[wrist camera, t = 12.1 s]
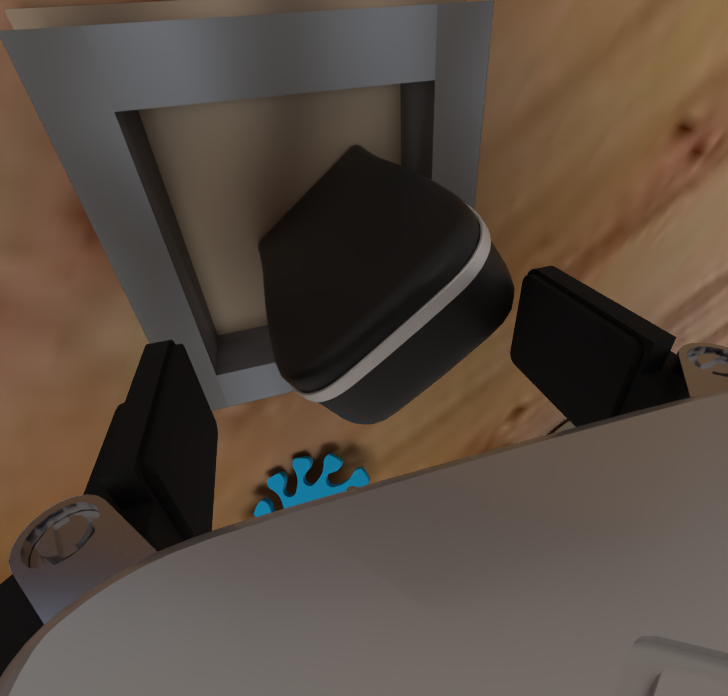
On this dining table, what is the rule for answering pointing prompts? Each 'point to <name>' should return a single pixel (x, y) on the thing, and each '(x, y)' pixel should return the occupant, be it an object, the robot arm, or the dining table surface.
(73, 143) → the frame
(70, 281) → the dining table surface
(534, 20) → the dining table surface
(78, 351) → the dining table surface
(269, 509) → the gear
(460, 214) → the battery charger
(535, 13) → the dining table surface
